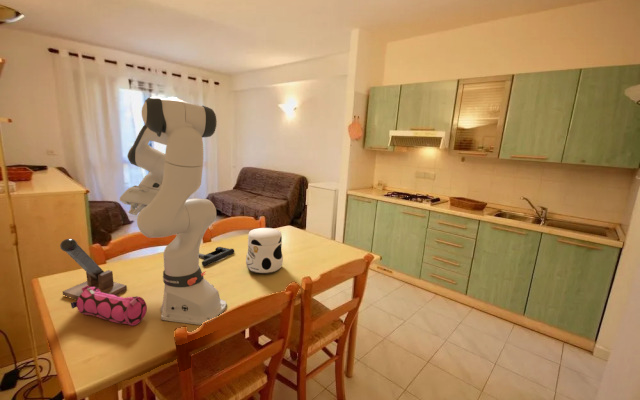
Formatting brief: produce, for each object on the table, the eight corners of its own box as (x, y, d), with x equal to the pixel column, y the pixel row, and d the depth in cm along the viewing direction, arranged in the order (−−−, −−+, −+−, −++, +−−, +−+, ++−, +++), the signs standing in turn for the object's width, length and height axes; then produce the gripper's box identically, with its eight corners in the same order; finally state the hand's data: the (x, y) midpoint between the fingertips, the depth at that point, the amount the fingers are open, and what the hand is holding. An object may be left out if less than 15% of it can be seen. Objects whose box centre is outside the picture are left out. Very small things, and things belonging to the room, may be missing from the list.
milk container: (237, 270, 134) (238, 233, 130) (261, 258, 149) (262, 225, 145) (267, 280, 126) (268, 242, 123) (289, 266, 141) (291, 231, 138)
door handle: (183, 255, 141) (207, 261, 134) (214, 244, 159) (237, 248, 152) (184, 262, 142) (207, 268, 135) (214, 249, 160) (237, 254, 153)
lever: (111, 274, 111) (75, 237, 97) (101, 284, 108) (63, 246, 94) (102, 272, 112) (65, 235, 98) (93, 282, 109) (53, 244, 95)
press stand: (126, 289, 112) (125, 271, 110) (95, 306, 101) (92, 285, 99) (96, 281, 117) (94, 263, 115) (63, 296, 105) (60, 276, 104)
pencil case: (71, 320, 93) (68, 292, 91) (99, 304, 102) (97, 278, 100) (128, 333, 89) (125, 304, 87) (152, 315, 98) (150, 288, 96)
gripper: (127, 180, 127) (107, 206, 120) (164, 185, 121) (146, 213, 114) (137, 189, 132) (118, 214, 125) (173, 194, 126) (156, 221, 119)
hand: (132, 214), depth 119 cm, fingers closed
